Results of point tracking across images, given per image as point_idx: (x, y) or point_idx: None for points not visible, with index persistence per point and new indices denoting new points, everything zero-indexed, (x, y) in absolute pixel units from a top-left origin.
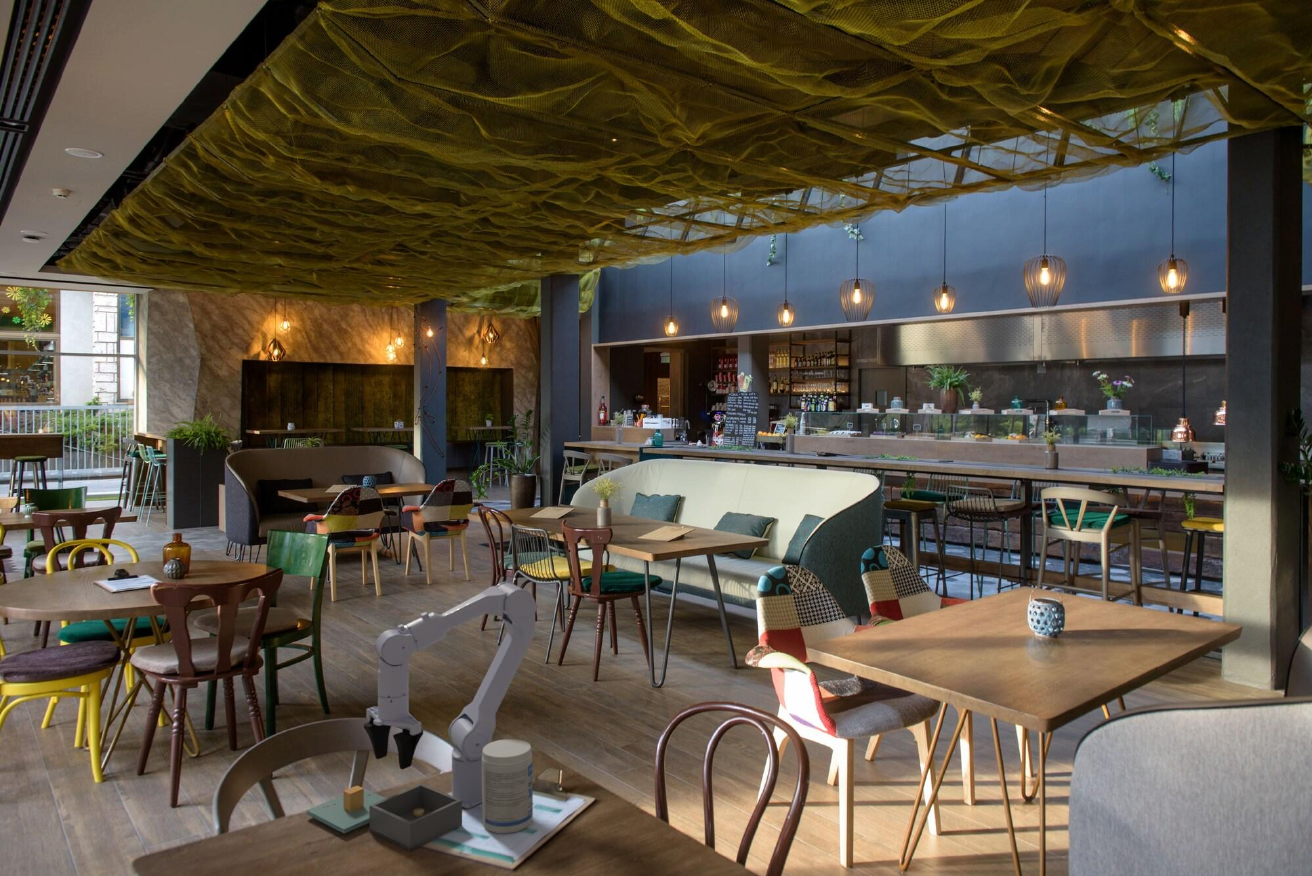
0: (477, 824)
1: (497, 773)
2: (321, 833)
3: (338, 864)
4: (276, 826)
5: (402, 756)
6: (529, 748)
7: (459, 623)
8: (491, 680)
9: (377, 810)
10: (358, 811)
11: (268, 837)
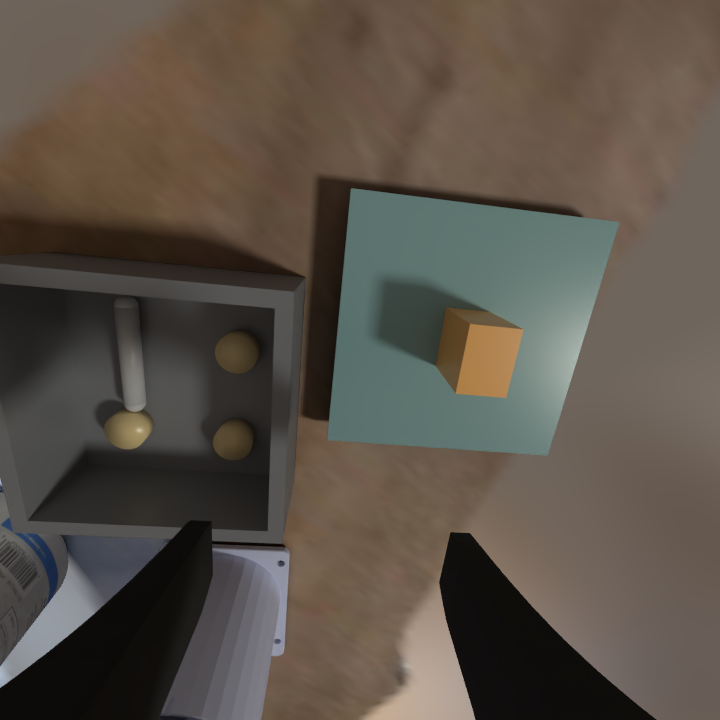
0: None
1: None
2: (455, 168)
3: (184, 11)
4: (663, 107)
5: (114, 600)
6: None
7: None
8: None
9: (228, 285)
10: (419, 326)
11: (629, 13)
